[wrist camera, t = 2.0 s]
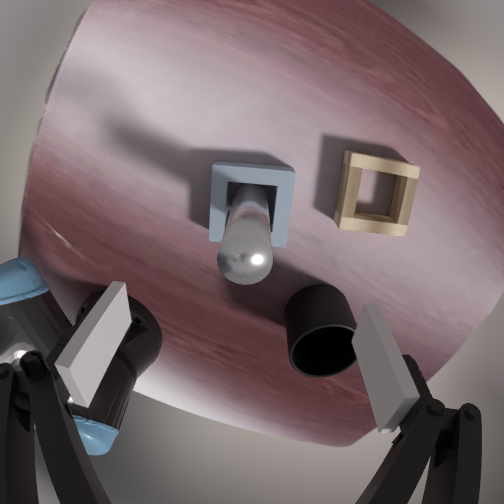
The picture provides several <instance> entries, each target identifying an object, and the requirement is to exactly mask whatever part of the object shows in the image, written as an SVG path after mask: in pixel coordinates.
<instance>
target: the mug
mask: <svg viewBox="0 0 504 504" xmlns="http://www.w3.org/2000/svg"><path fill="white" fill-rule="evenodd" d="M285 323H286V333H287V343H288V354H289V360H290V363H291V365H292V366H293V368H294V369H295V370H296V371H298V372H299V373H301V374H303V375H306V376H309V377H328V376H333V375H336V374H339V373H341V372H343V371H345V370H346V369H348V368H349V367H351V366H352V365H353V364H354V363H355V362H356V361H357V357H356V354H355V350H354V347H353V344H352V339H353V336H354V333H355V330H356V327H357V324H356V322H355V319H354V317H353V314H352V312H351V309H350V307H349V304H348V302H347V299H346V297H345V296H344V294H343V293H342V292H340V291H339V290H338V289H336V288H334V287H331V286H328V285H313V286H309V287H306V288H304V289H302V290H300V291H298V292H297V293H296V294H295V295H294V296H293V297H292V298H291V299H290V301H289V302H288V304H287V306H286V309H285Z"/></svg>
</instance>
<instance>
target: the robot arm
mask: <svg viewBox="0 0 504 504" xmlns="http://www.w3.org/2000/svg"><path fill="white" fill-rule="evenodd" d="M49 289H50V286H49V285H48V284H47V283H46V282H45V281H44V279H43V278H42V276H41V275H40V273H39V271H38V270H37V268H36V266H35V265H34V263H33V262H32V261H31V260H29V259H27V258H24V257H18V258H15V259H12V260H10V261H8V262H5V263H3V264H1V265H0V504H39V502H38V493H37V483H36V470H35V452H34V451H35V449H34V428H35V429H36V431H37V435H38V439H39V443H40V446H41V450H42V453H43V457H44V460H45V463H46V466H47V469H48V472H49V475H50V478H51V481H52V483H53V486H54V489H55V491H56V494H57V496H58V499H59V501H60V504H111V502H110V500H109V498H108V496H107V494H106V493H105V491H104V489H103V487H102V485H101V483H100V481H99V479H98V476H97V474H96V472H95V470H94V468H93V466H92V464H91V461H90V459H89V457H88V454H89V455H102V454H104V453H106V452H108V451H109V450H110V448H111V446H112V443H113V441H114V439H115V437H116V435H117V434H118V431H119V428H120V425H121V422H122V419H123V416H124V413H125V410H126V407H127V404H128V402H129V399H130V396H131V393H132V390H133V388H134V385H135V382H136V380H137V378H138V377H139V376H140V375H141V374H142V373H143V372H144V371H145V370H146V369H147V368H148V367H149V366H150V365H151V364H152V363H153V362H154V361H155V359H156V358H157V356H158V354H159V351H160V348H161V346H162V333H161V329H160V327H159V325H158V323H157V321H156V319H155V318H154V317H153V315H152V314H151V313H150V312H149V311H148V310H147V309H146V308H145V307H144V306H143V305H142V304H140V303H139V302H137V301H136V300H134V299H132V298H131V297H129V296H127V291H126V285H125V283H124V282H117V281H113V282H112V283H111V284H110V286H109V287H108V288H107V290H106V291H100V292H96V293H94V294H92V295H90V296H89V297H88V298H87V299H86V300H85V302H84V303H83V304H82V305H81V307H80V309H79V311H78V313H77V317H76V321H75V326H74V325H73V326H72V324H71V323H70V321H69V320H68V318H67V317H66V315H65V314H64V312H63V311H62V309H61V308H60V306H59V305H58V303H57V301H56V300H55V298H54V297H53V295H52V293H51V292H50V290H49ZM352 344H353V347H354V350H355V354H356V357H357V360H358V363H359V366H360V369H361V373H362V376H363V379H364V382H365V386H366V389H367V392H368V396H369V399H370V403H371V406H372V410H373V413H374V417H375V420H376V424H377V428H378V431H379V434H382V433H390V432H394V431H395V429H396V428H397V427H398V426H400V430H401V432H400V433H399V435H398V436H397V437H396V438H395V439H394V440H393V442H392V443H393V445H392V447H391V449H390V451H389V452H388V454H387V456H386V457H385V459H384V461H383V463H382V464H381V466H380V468H379V469H378V471H377V472H376V474H375V475H374V477H373V478H372V480H371V482H370V483H369V485H368V486H367V488H366V489H365V490H364V492H363V493H362V495H361V496H360V498H359V499H358V500H357V502H356V503H355V504H407V503H408V501H409V499H410V497H411V495H412V494H413V492H414V490H415V488H416V486H417V484H418V482H419V480H420V478H421V476H422V474H423V471H424V469H425V467H426V465H427V463H428V460H429V458H430V464H429V470H428V475H427V481H426V486H425V491H424V495H423V499H422V504H478V500H479V490H480V479H481V460H482V424H481V413H480V410H479V409H478V408H477V407H476V406H475V405H473V404H471V403H466V404H463V405H462V406H461V408H460V409H459V410H457V409H449V408H445V406H444V404H443V403H442V402H441V401H439V400H437V399H434V398H433V397H432V395H431V393H430V391H429V389H428V386H427V384H426V382H425V380H424V378H423V377H422V373H421V371H419V367H418V365H417V363H416V361H415V360H414V359H413V358H412V357H411V356H410V355H401V352H400V350H399V348H398V346H397V344H396V342H395V340H394V338H393V336H392V334H391V332H390V330H389V328H388V326H387V324H386V322H385V320H384V318H383V316H382V314H381V312H380V310H379V308H378V306H377V304H364V307H363V310H362V313H361V316H360V319H359V322H358V325H357V327H356V330H355V333H354V336H353V339H352ZM430 456H431V457H430Z"/></svg>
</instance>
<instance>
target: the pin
mask: <svg viewBox="0 0 504 504" xmlns="http://www.w3.org/2000/svg"><path fill="white" fill-rule="evenodd" d="M217 263H218V267H219V269H220V271H221V273H222V274H223V275H224V276H225V277H226V278H227V279H229V280H230V281H232V282H234V283H237V284H243V285H248V284H254V283H257V282H259V281H261V280H262V279H264V278H265V277H266V276H267V275H268V273H269V272H270V270H271V268H272V264H273V256H272V244H271V232H270V220H269V208H268V197H267V194H266V192H265V191H264V190H263V189H262V188H261V187H260V186H258V185H255V184H248V185H244V186H242V187H241V188H240V189H239V190H238V191H237V192H236V195H235V198H234V201H233V204H232V208H231V211H230V214H229V218H228V221H227V224H226V228H225V231H224V234H223V238H222V241H221V245H220V248H219V251H218V255H217Z"/></svg>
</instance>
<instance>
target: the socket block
mask: <svg viewBox="0 0 504 504" xmlns="http://www.w3.org/2000/svg"><path fill="white" fill-rule="evenodd" d="M294 180H295V171H294V169H293V168H292V167H283V166H274V165H263V164H252V163H239V162H225V161H215V162H214V163H213V165H212V177H211V199H210V225H209V241H214V242H221V241H222V238H223V234H224V231H225V228H226V224H227V221H228V220H227V214H228V197H229V182H240V183H252V184H263V185H274V186H276V187H275V196H274V205H273V214H272V223H270V232H271V244H272V247H284V248H286V241H287V233H288V226H289V219H290V211H291V204H292V196H293V188H294Z"/></svg>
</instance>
